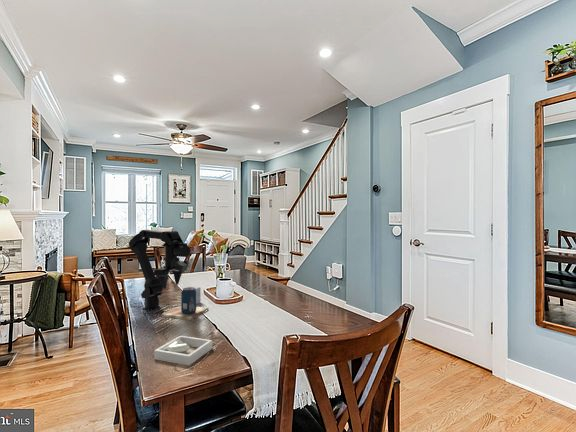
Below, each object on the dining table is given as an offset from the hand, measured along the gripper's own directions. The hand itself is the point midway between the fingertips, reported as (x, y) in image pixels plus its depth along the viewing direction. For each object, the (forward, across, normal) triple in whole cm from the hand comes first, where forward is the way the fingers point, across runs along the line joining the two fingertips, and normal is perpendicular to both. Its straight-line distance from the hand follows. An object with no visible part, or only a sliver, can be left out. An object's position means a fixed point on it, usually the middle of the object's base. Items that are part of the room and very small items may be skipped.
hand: (171, 286), depth 160 cm
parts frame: (+13, -38, -36) cm, 54 cm away
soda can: (+12, -2, -12) cm, 17 cm away
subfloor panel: (+13, +1, -8) cm, 15 cm away
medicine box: (+13, +18, 0) cm, 22 cm away
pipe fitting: (+14, -39, -34) cm, 53 cm away
